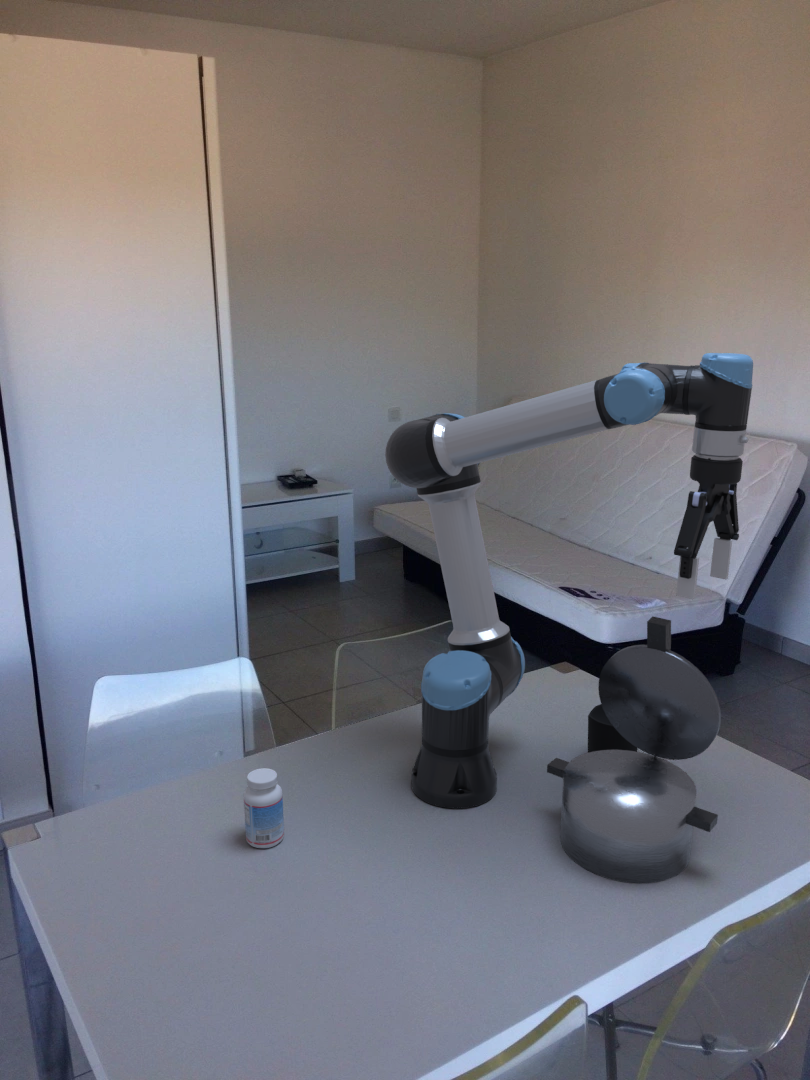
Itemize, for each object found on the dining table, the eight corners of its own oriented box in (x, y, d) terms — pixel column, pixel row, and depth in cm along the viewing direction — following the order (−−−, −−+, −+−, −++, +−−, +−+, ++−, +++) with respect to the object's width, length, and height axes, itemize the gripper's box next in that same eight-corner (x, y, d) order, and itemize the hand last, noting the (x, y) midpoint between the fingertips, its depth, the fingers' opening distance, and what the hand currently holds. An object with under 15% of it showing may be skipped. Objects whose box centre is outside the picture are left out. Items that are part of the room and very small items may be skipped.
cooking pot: (517, 840, 140) (520, 778, 137) (577, 788, 155) (581, 732, 152) (682, 911, 123) (688, 842, 120) (731, 846, 138) (738, 783, 136)
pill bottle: (291, 833, 141) (289, 770, 139) (270, 853, 136) (267, 788, 133) (259, 824, 144) (257, 762, 141) (238, 844, 139) (234, 780, 136)
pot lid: (596, 610, 140) (604, 603, 142) (599, 738, 150) (607, 729, 152) (720, 639, 128) (727, 631, 130) (716, 776, 138) (722, 766, 140)
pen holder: (647, 770, 161) (651, 720, 158) (604, 780, 158) (608, 729, 155) (617, 747, 169) (620, 700, 167) (575, 756, 166) (578, 708, 163)
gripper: (709, 469, 124) (694, 611, 129) (769, 449, 142) (753, 574, 148) (659, 462, 128) (646, 600, 134) (723, 444, 147) (709, 565, 152)
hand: (702, 587), depth 141 cm, fingers open, 13 cm apart
